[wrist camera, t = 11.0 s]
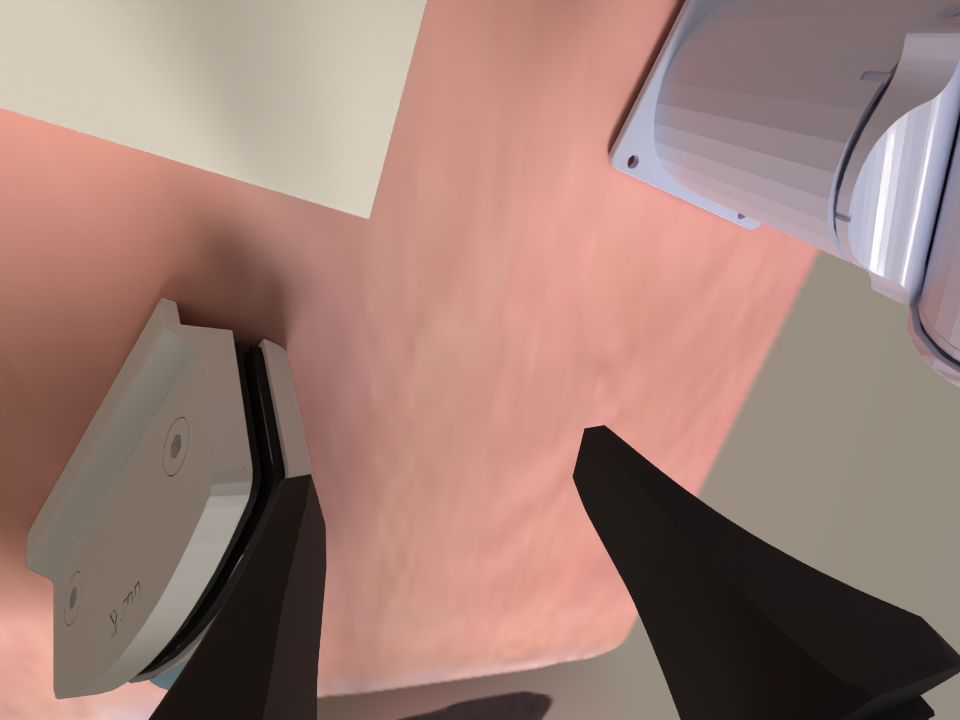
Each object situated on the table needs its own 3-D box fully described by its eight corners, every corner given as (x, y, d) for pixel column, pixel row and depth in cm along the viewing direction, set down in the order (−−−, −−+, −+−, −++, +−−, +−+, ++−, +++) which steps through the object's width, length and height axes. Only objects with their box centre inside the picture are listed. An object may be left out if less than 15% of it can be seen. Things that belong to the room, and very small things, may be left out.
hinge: (165, 289, 17) (199, 516, 12) (280, 323, 21) (348, 507, 15) (24, 537, 22) (2, 776, 17) (137, 529, 26) (148, 722, 20)
